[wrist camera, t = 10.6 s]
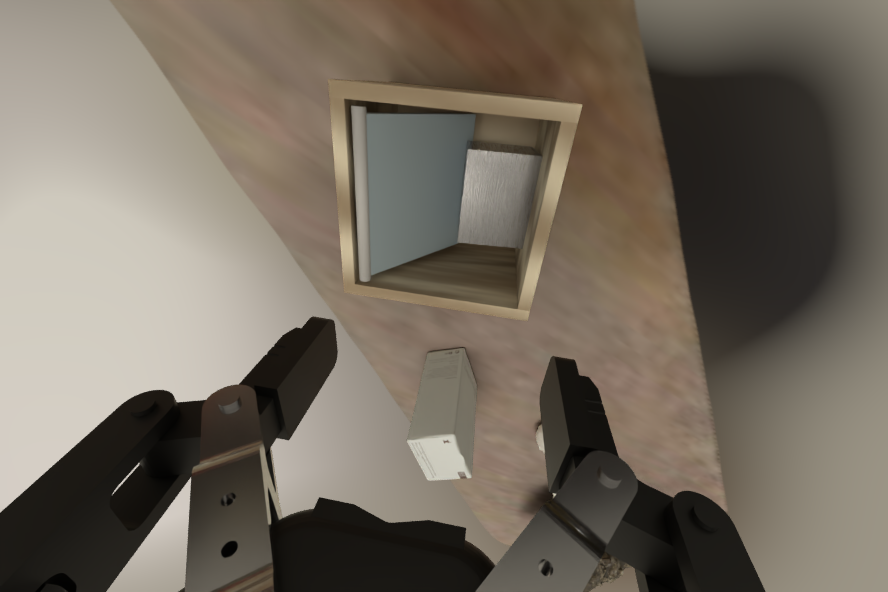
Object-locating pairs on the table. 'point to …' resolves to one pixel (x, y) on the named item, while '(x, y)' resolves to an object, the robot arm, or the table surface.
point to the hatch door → (407, 184)
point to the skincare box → (445, 416)
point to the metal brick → (497, 193)
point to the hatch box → (461, 265)
